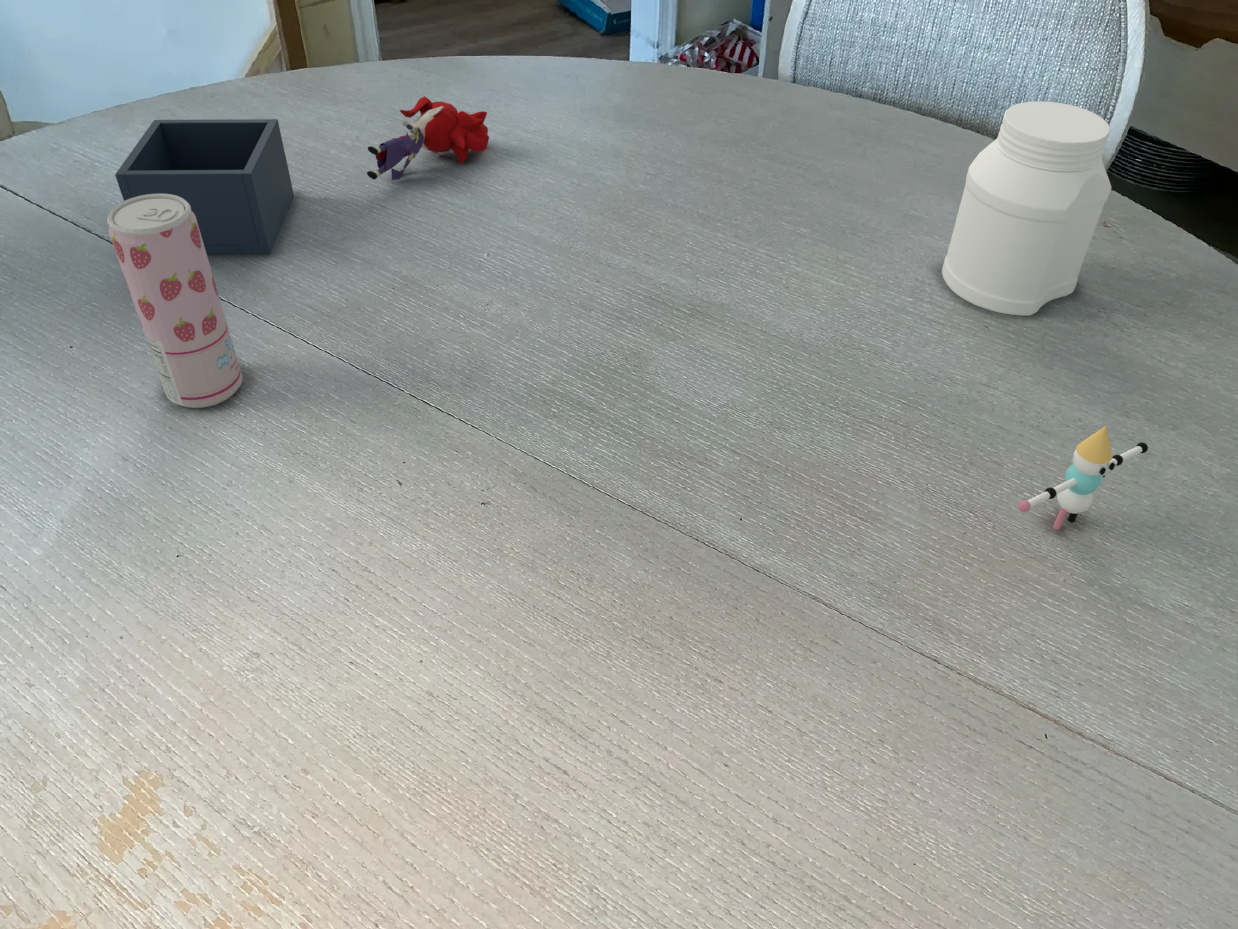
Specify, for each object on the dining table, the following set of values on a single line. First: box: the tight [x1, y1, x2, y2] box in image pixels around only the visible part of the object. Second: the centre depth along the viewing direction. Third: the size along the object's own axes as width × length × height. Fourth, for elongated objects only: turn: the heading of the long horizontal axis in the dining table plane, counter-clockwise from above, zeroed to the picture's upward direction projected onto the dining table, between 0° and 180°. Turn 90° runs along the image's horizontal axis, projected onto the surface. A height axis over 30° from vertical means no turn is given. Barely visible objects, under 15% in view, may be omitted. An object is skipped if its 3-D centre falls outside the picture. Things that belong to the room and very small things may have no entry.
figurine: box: [366, 95, 490, 181], centre depth 105 cm, size 6×8×15 cm
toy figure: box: [1017, 425, 1149, 531], centre depth 66 cm, size 12×2×9 cm, turn 121°
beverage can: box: [106, 194, 243, 409], centre depth 73 cm, size 6×6×15 cm
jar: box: [941, 100, 1112, 317], centre depth 87 cm, size 12×10×15 cm
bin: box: [114, 118, 295, 256], centre depth 95 cm, size 12×12×8 cm
